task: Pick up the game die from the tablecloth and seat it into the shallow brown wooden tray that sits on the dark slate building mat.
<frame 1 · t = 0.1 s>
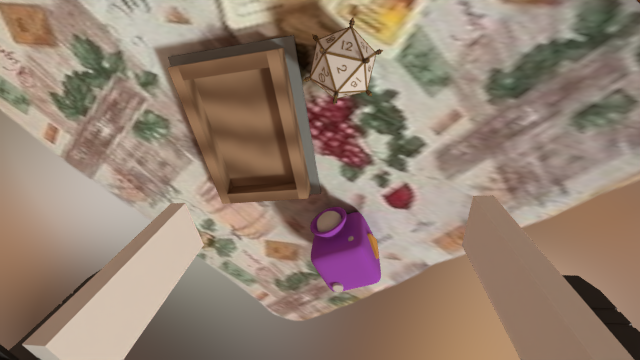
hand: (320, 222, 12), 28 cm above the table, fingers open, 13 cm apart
game die: (343, 62, 34), on the table
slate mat: (253, 131, 40), on the table
toy camera: (342, 226, 48), on the table
brown wooden tray: (253, 131, 40), resting on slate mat
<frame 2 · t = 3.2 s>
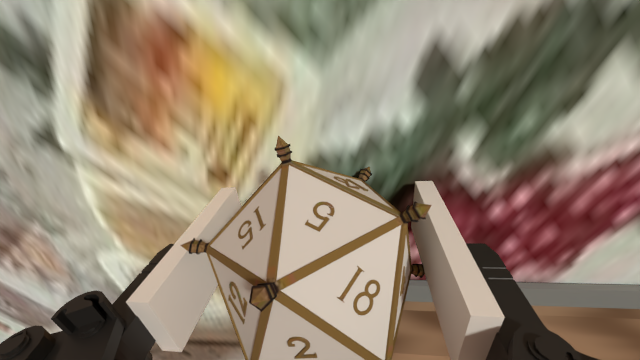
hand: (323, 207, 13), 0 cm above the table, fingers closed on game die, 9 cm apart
game die: (325, 199, 14), on the table, touching gripper
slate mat: (445, 359, 20), on the table
brown wooden tray: (445, 359, 20), resting on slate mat
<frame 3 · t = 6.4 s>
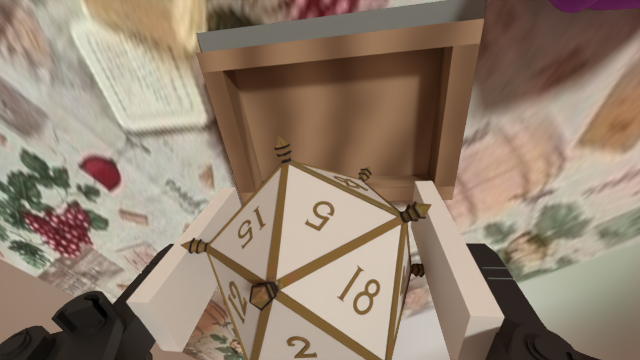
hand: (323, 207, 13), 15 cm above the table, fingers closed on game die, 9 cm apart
game die: (325, 199, 14), point 14 cm above the table, touching gripper
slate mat: (337, 121, 26), on the table
brown wooden tray: (337, 121, 26), resting on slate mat
when the fingers open (3 cm above the table, at t = 9.8 s): game die drops 1 cm, resting on brown wooden tray.
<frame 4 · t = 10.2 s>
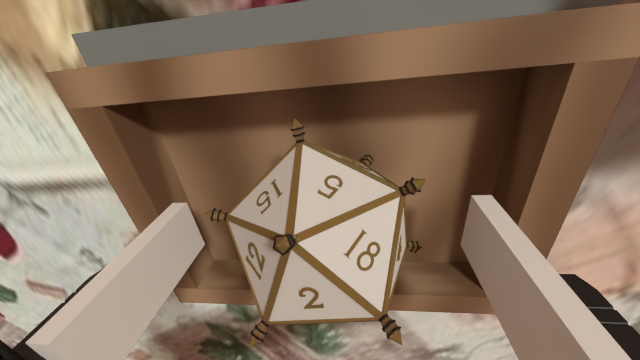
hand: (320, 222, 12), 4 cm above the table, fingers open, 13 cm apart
game die: (330, 183, 15), point 1 cm above the table, touching brown wooden tray
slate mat: (327, 178, 16), on the table
brown wooden tray: (327, 178, 16), resting on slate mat
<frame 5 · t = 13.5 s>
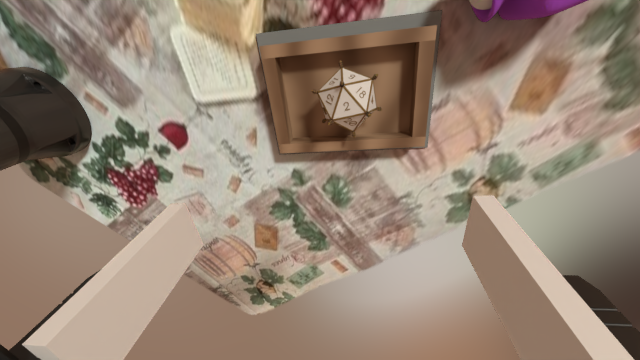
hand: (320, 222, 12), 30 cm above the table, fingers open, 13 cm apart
game die: (348, 93, 37), point 1 cm above the table, touching brown wooden tray
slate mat: (347, 93, 38), on the table
brown wooden tray: (347, 93, 38), resting on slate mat
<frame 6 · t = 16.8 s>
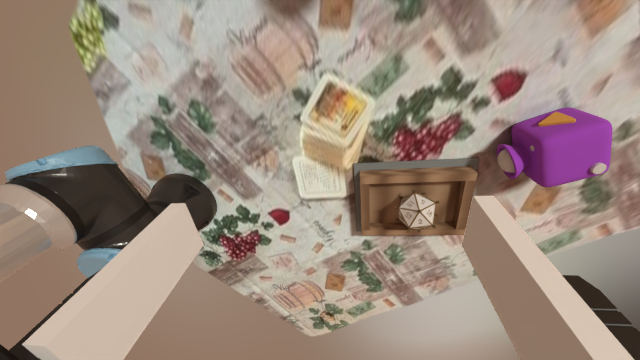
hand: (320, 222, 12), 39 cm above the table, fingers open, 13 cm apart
game die: (412, 199, 55), point 1 cm above the table, touching brown wooden tray
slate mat: (410, 198, 56), on the table
toy camera: (527, 140, 47), on the table
brown wooden tray: (410, 198, 56), resting on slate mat
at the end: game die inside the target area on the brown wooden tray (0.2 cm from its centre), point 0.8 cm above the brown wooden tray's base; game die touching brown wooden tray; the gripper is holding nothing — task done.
